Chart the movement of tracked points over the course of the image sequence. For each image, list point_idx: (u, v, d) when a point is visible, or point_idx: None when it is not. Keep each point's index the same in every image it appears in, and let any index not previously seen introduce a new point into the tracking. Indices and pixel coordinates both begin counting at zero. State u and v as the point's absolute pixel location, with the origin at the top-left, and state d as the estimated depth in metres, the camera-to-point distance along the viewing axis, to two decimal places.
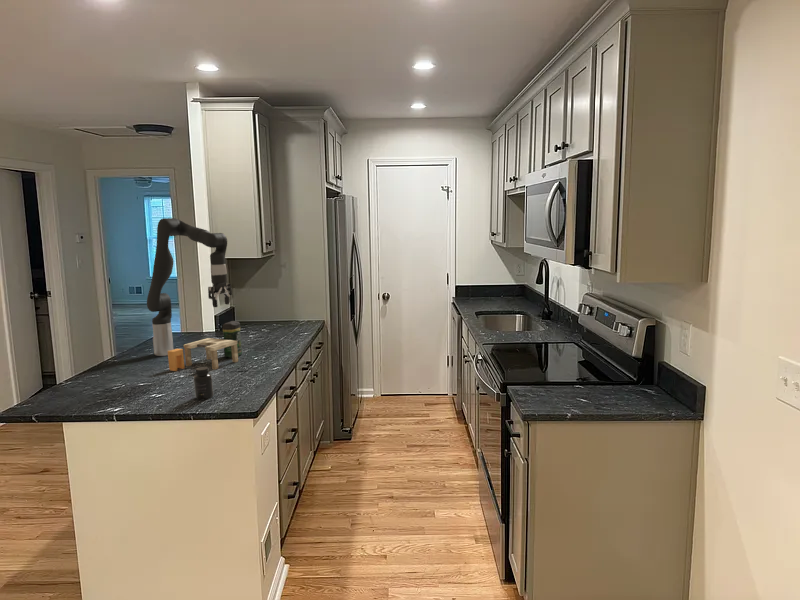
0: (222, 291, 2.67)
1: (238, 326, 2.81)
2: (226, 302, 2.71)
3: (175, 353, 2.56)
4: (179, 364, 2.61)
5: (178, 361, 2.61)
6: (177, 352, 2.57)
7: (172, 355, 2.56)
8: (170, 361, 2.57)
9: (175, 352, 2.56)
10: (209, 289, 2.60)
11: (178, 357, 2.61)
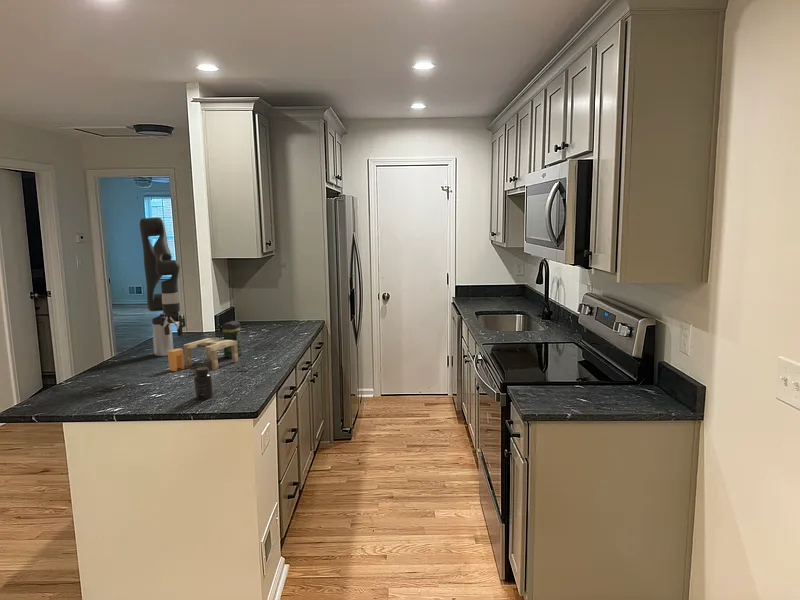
0: None
1: (238, 326, 2.81)
2: (167, 332, 2.59)
3: (175, 353, 2.56)
4: (179, 364, 2.61)
5: (178, 361, 2.61)
6: (177, 352, 2.57)
7: (172, 355, 2.56)
8: (170, 361, 2.57)
9: (175, 352, 2.56)
10: (181, 317, 2.53)
11: (178, 357, 2.61)
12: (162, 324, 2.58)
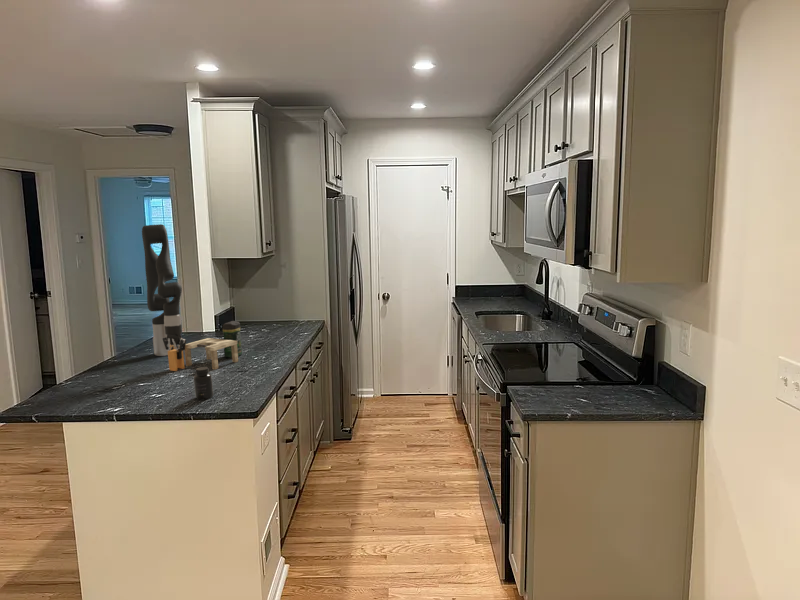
0: None
1: (238, 326, 2.81)
2: None
3: (175, 353, 2.56)
4: (179, 364, 2.61)
5: (178, 361, 2.61)
6: None
7: (172, 355, 2.56)
8: (170, 361, 2.57)
9: (175, 352, 2.56)
10: (183, 342, 2.55)
11: None
12: (167, 347, 2.59)
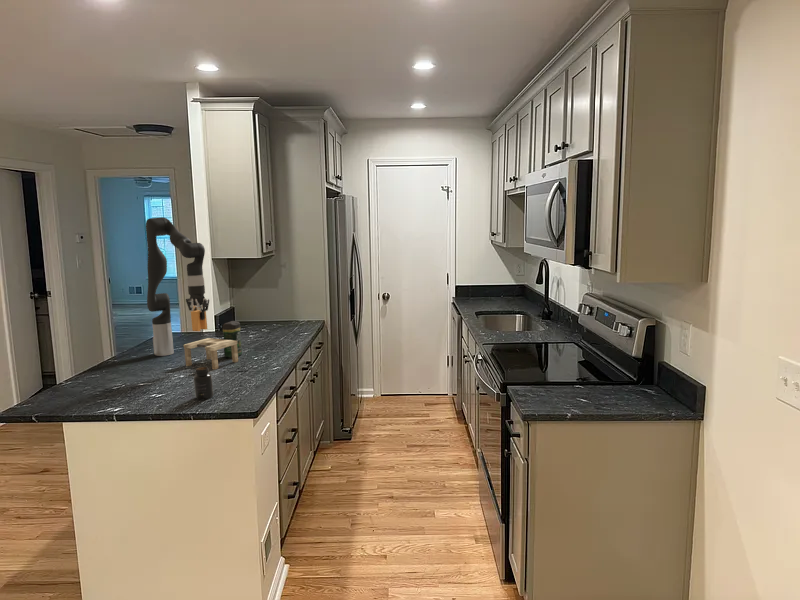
0: None
1: (238, 326, 2.81)
2: None
3: (198, 313, 2.58)
4: (201, 325, 2.62)
5: (201, 322, 2.62)
6: None
7: (195, 315, 2.57)
8: (193, 321, 2.59)
9: (198, 312, 2.58)
10: (206, 302, 2.56)
11: None
12: (190, 308, 2.61)
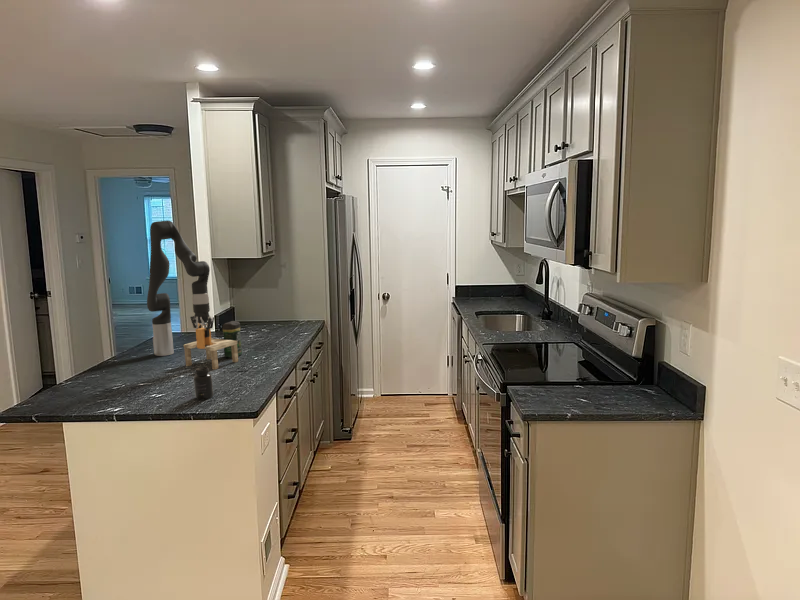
0: None
1: (238, 326, 2.81)
2: None
3: (203, 331, 2.60)
4: (206, 342, 2.65)
5: (205, 339, 2.65)
6: None
7: (200, 333, 2.60)
8: (198, 339, 2.61)
9: (203, 330, 2.60)
10: (211, 320, 2.58)
11: None
12: (195, 326, 2.63)
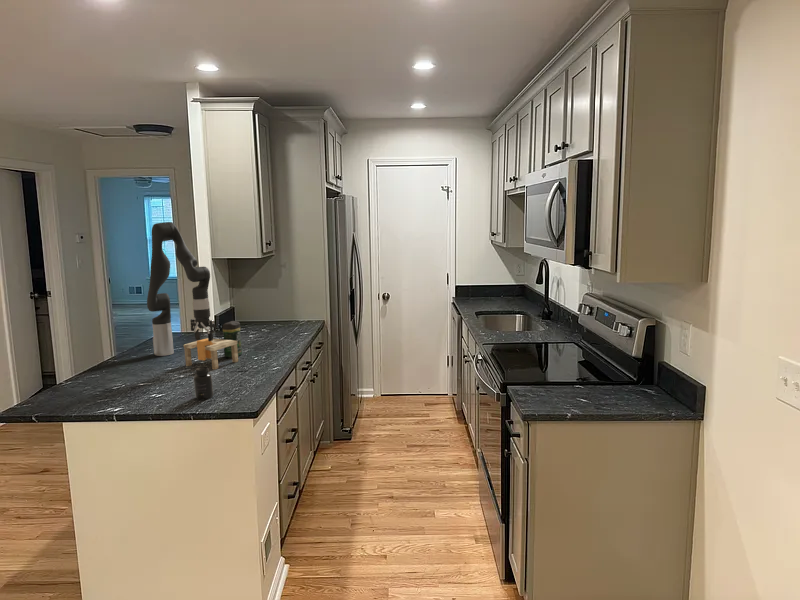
0: None
1: (238, 326, 2.81)
2: (198, 337, 2.65)
3: (204, 343, 2.61)
4: (207, 353, 2.66)
5: (206, 351, 2.65)
6: (206, 342, 2.62)
7: (201, 345, 2.60)
8: (199, 351, 2.62)
9: (204, 342, 2.61)
10: (212, 323, 2.58)
11: None
12: (192, 329, 2.64)
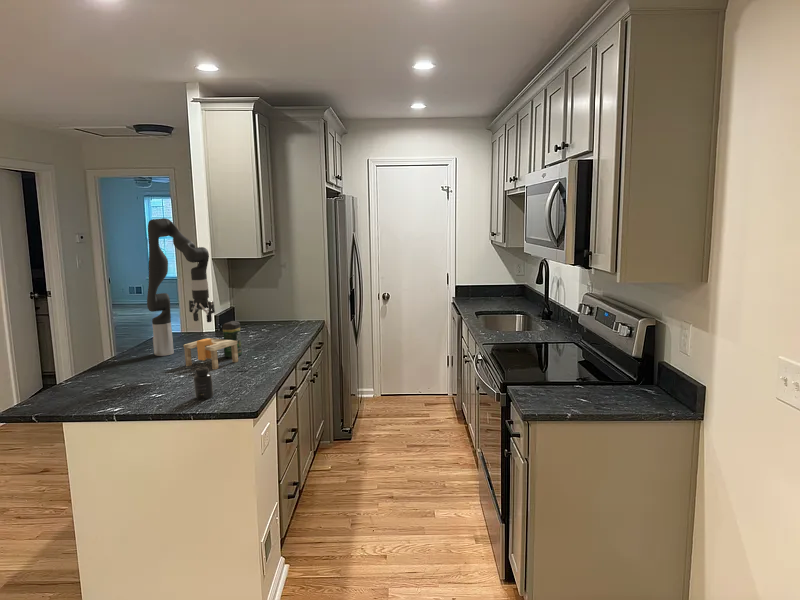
0: None
1: (238, 326, 2.81)
2: (196, 319, 2.63)
3: (204, 343, 2.61)
4: (207, 353, 2.66)
5: (206, 351, 2.65)
6: (206, 342, 2.62)
7: (201, 345, 2.60)
8: (199, 351, 2.62)
9: (204, 342, 2.61)
10: (211, 304, 2.57)
11: None
12: (191, 310, 2.63)
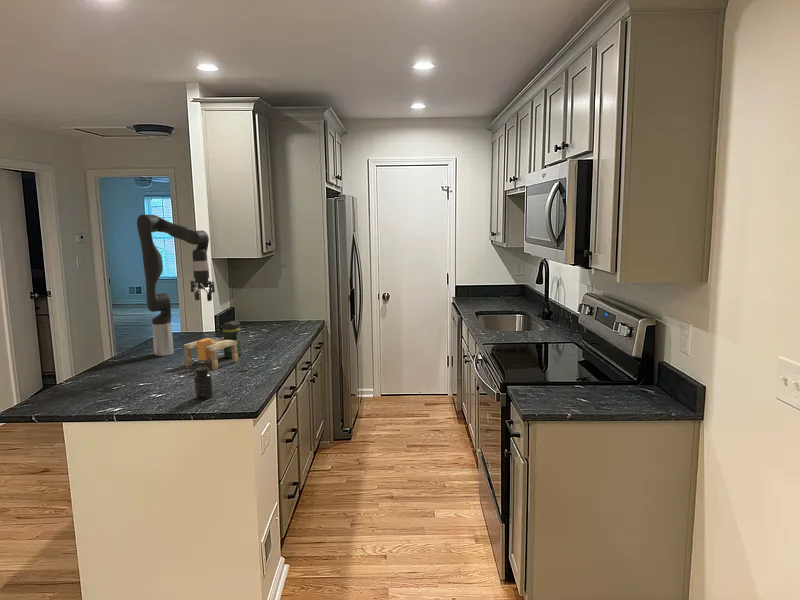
0: None
1: (238, 326, 2.81)
2: (197, 298, 2.80)
3: (204, 343, 2.61)
4: (207, 353, 2.66)
5: (207, 351, 2.66)
6: (206, 342, 2.62)
7: (201, 345, 2.60)
8: (199, 351, 2.62)
9: (204, 342, 2.61)
10: (211, 283, 2.74)
11: None
12: (192, 290, 2.80)
